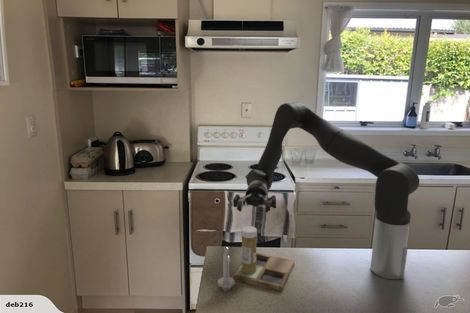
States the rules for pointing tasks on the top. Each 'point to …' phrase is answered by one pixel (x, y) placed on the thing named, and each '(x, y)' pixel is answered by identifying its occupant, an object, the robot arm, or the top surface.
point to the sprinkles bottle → (249, 249)
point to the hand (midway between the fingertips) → (253, 209)
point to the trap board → (267, 272)
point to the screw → (226, 272)
